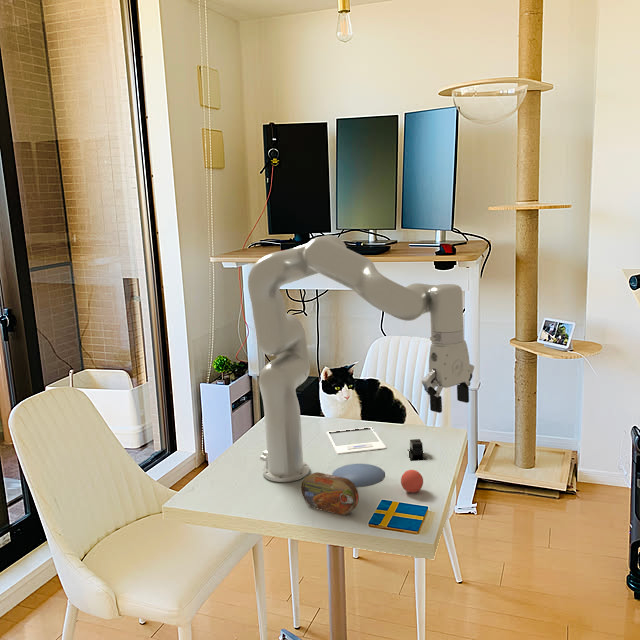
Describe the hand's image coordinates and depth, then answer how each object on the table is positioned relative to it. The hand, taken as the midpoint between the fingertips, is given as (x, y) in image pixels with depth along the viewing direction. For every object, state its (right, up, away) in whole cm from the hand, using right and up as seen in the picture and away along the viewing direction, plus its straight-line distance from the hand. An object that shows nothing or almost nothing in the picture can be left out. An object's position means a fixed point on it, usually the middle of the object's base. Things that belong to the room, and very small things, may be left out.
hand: (449, 406), depth 157 cm
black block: (-4, -18, +28) cm, 34 cm away
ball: (-8, -19, +5) cm, 21 cm away
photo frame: (-21, -17, +41) cm, 49 cm away
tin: (-29, -25, -1) cm, 38 cm away
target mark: (-21, -20, +16) cm, 34 cm away
